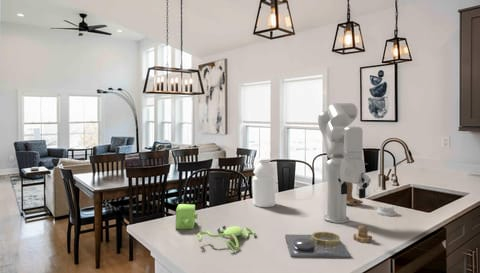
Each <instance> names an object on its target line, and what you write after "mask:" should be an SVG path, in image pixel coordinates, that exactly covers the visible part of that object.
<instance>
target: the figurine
mask: <svg viewBox="0 0 480 273" xmlns="http://www.w3.org/2000/svg"><path fill="white" fill-rule="evenodd" d="M216 231H217V233H216V234H213V233H211V232H210V231H207V230H206V231H205V230H204V231H200V232H198V233H197V237H198V238H199V239H198V242H199V243H201V242H202V241H203V236H202V235H207V236H208V237H211V238H221V237H225V236H226V237H230V238H229V239H228V240H226V245H228V246H229V248H230V249H231V251H232V252H233V253H236V251H235V250H238V249H240V243H239V240H238V238H237V237H238V236H242V237H243V238H245V239H246V238H247V239H248V237H249V233H250V234H251V235H252V236H254V237H256V236H257V234H256V232H255V231H254V230H252V229H251V228H249V227H246V226H245V227H244V229H243V227H241V226H239V225H238V226H237V225H235V226H233V225H232V226H229V227H226V225H223V226H222V227H219V228H218V229H217V230H216ZM243 231H244V233H243ZM232 240H234V241H235V243H234V242H233V241H232Z"/></svg>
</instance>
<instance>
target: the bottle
mask: <svg viewBox="0 0 480 273" xmlns="http://www.w3.org/2000/svg"><path fill="white" fill-rule="evenodd" d="M270 160H271V159H270V158H265V157H263V158H259V159H258V164H256V165H255V167H254V169H253V171H252V172H253V174H254V176H253V177H252V204H253V206H254V207H259V208H270V207H274V206H276V202H277V201H276V190H277V189H276V185H277V184H276V182H277V181H276V179H277V178H276V177H275V174H276V170H275V168H274V166H273V165H272V163H270V162H271V161H270Z"/></svg>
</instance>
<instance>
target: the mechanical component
mask: <svg viewBox="0 0 480 273" xmlns="http://www.w3.org/2000/svg"><path fill="white" fill-rule="evenodd" d="M376 212H377V213H378V215H380V214H381V215H380V216H384V215H385V216H386V217H394V216H397V211H395V206H394V205H390V204H380V205H378V209H377V210H376ZM377 213H376V214H377Z"/></svg>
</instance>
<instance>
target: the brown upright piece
mask: <svg viewBox="0 0 480 273" xmlns="http://www.w3.org/2000/svg"><path fill="white" fill-rule="evenodd" d="M353 184H354V183H348V182H347V183H346V185H347V195H346V205H350V206H359V205H361V204H363V202H364V201H363V200H360V199H358V198H354V197H353V190H354V189H353V188H354V187H353V186H354V185H353Z"/></svg>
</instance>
